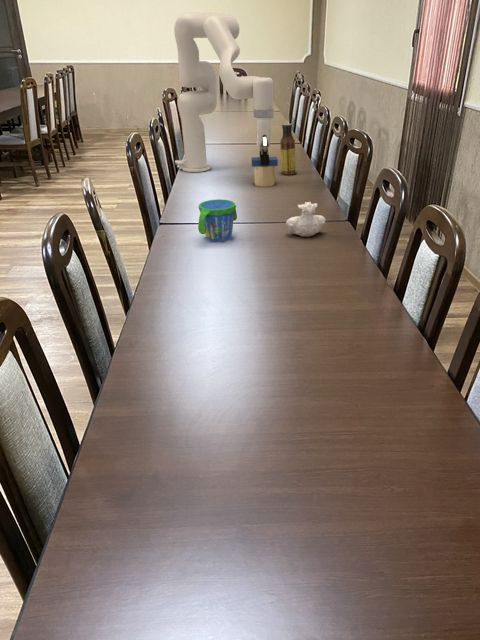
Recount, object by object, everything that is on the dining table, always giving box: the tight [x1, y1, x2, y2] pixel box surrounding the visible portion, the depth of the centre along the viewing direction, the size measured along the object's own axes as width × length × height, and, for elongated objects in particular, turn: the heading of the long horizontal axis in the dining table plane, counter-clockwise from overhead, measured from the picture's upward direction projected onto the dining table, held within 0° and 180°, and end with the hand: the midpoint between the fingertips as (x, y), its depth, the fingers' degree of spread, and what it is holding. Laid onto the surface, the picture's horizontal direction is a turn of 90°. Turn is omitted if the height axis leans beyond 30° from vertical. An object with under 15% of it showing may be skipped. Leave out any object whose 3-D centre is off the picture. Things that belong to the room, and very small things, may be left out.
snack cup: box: [197, 198, 238, 242], centre depth 157 cm, size 16×10×10 cm
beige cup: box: [253, 166, 276, 188], centre depth 213 cm, size 8×8×8 cm
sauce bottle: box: [279, 123, 297, 176], centre depth 225 cm, size 7×6×20 cm
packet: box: [251, 156, 279, 168], centre depth 211 cm, size 10×6×2 cm, turn 93°
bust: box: [285, 201, 326, 238], centre depth 158 cm, size 12×8×11 cm
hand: (264, 162), depth 211 cm, fingers open, 6 cm apart
